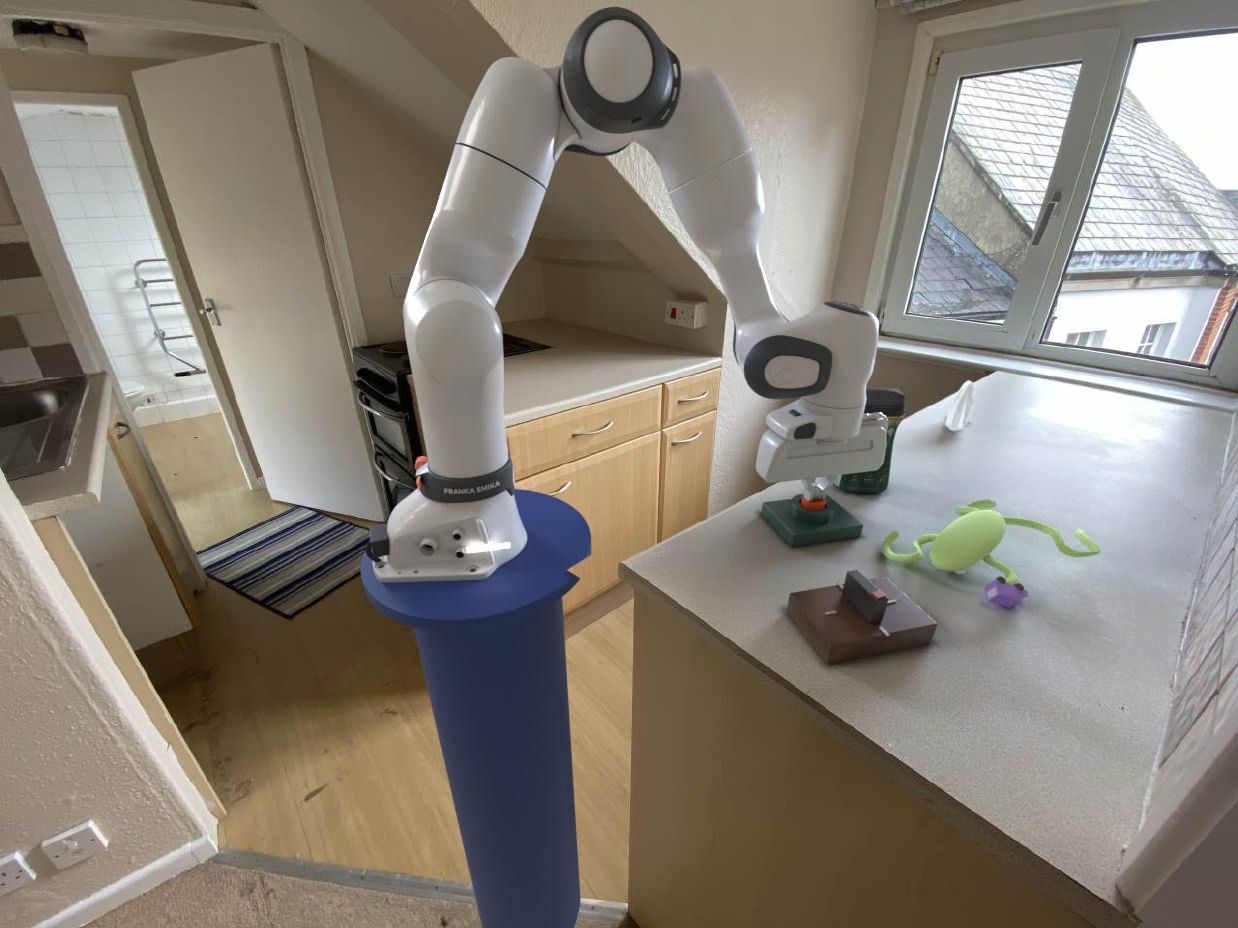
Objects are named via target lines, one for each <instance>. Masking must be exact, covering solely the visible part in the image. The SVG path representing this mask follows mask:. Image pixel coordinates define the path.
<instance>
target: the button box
mask: <svg viewBox="0 0 1238 928" xmlns="http://www.w3.org/2000/svg"><path fill="white" fill-rule="evenodd" d="M803 494H804V493H798V494H796V495H794V496H792V497H791V498H785V499H779V500H771V501H763V502H762V505H761V511H760V512H761V513H760V514H761V515H762V516H763V517H764V518H765V520H767V521H768V522H769V524H770V525H771V526H772V528H774V529H775V531H777V533H778V534H779V535H780V536H781V537H782V538H783V539H784V540H785V541H786V542H787V543H788V544H789V545H790V547H791V548H793V547H800V546H807V545H814V544H822V543H827V542H834V541H840V540H846V539H852V538H853V539H854V538H859V537H861V536H862V533H863V529H864V524H863V523H862V522H861V521H859V520H858V519H857V518H856V517H855V516H853V515H852V514H851V513H850V512H848V511H847V510H846V509H845V507H843V506H842V505H840V504H839V503H838V502H836V501H835V500H834V499H833V498H832V497H831V496H830V495H828V494H827V493H826V498H825V500H826V503H825V508H824V510H818V511H816V510H809V509H807V508H805V507H803V506H802V505H801V500H802V496H803Z"/></svg>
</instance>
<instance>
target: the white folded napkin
mask: <svg viewBox="0 0 1238 928" xmlns="http://www.w3.org/2000/svg"><path fill="white" fill-rule="evenodd" d="M975 397H976V395H975V385H974V382H973V381H971V380H966V381H965V382H964V383H963V384H962V385H961V387H960V388H959V389H958V391H957V393H956V395H955V396H954V397H953V399H952V401H951V403H950V407H949V410H948V413H947V416H946V420H945V423H944V425H945V426H946V428H948V429H949V431H951V432H954V431H955V432H956V431H962V430H965V429H966V427H967V426H968V425H967V424H968V423H969V421H970V419H971V415H972V411H973V408H974V405H975V401H976V398H975Z"/></svg>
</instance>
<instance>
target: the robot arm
mask: <svg viewBox="0 0 1238 928" xmlns="http://www.w3.org/2000/svg"><path fill="white" fill-rule="evenodd" d="M674 65H675V66H676V71H675V67H674ZM473 95H474V96H473V98H472V100H471V102H470V103H469V104H470V105H469V106H468V109H467V111H466V114H465V116H464V119H463V121H462V124H461V127H460V130H459V131H458V132H459V133H458V135H457V139H456V142H455V145H454V148H453V151H452V155H451V158H450V162H449V165H448V167H447V170H446V174H445V178H444V180H443V184H442V188H441V191H440V194H439V197H438V200H437V204H436V207H435V210H434V213H433V216H432V219H431V222H430V225H429V227H428V231H427V233H426V235H425V239H424V240H423V241H424V242H423V244H422V247H421V250H420V253H419V256H418V259H417V262H416V264H415V267H414V271H413V274H412V277H411V280H410V282H409V285H408V288H407V292H406V295H405V298H404V302H403V305H402V316H403V327H404V335H405V341H406V347H407V353H408V357H409V364H410V368H411V374H412V379H413V384H414V385H413V386H414V391H415V395H416V402H417V406H418V412H419V418H420V423H421V427H422V434H423V439H424V445H425V450H426V455H425V456H424V455H421V456H418V457H416V460H415V464H414V469H415V482H416V489H415V490H414V491H412V492H411V493H410V494H409V495H407V496H406V497H405V498H403V499H402V500H401V501H399V502H398V503H397V504H396V506H394V508H393V509H392V511H391V513H390V515H389V517H388V520H387V523H386V522H383V523H379V524H375V525H374V524H373V525H370V526H369V539H368V542H367V544H366V546H365V551H364V553H365V552H366V554H367V556H368V557H369V558H370V559H371V560H373V570H374V574H375V576H376V578H377V579H378V580H379V581H380V582H385V583H389V582H426V581H461V580H483V579H486V578H487V577H489V576H490V575H491V574H492V573H493V572H494V571H495V570H496V569H497V568H498V567H499V566H500V565H502V564H504V563H505V562H507V561H509V560H511V559H512V558H514V557H515V556H516V555H518V554H519V553H520V552H521V551H522V549H523V548H524V547H525V545H526V542H527V532H526V530H525V528H524V526H523V524H522V521H521V519H520V516H519V512H518V509H517V505H516V502H515V497H514V491H515V489H516V480H515V479H516V478H515V469H514V464H513V461H512V460H513V459H512V456H511V454H510V452H509V449H508V440H507V439H508V438H507V429H506V420H505V419H506V418H505V410H504V409H505V408H504V393H505V391H504V390H505V366H504V365H505V364H504V363H505V361H504V359H505V357H504V335H503V327H502V322H501V319H500V316H499V314H498V312H497V310H496V306H497V304H498V301H499V299H500V297H501V295H502V294H503V291H504V289H505V287H506V285H507V283H508V281H509V279H510V277H511V275H512V273H513V272H514V269H515V268H516V266H517V264H518V263H519V261H520V260H521V259H522V258H523V256H524V254H525V251H526V249H527V246H528V244H529V240H530V237H531V235H532V233H533V229H534V226H535V223H536V221H537V217H538V215H539V211H540V209H541V206H542V203H543V200H544V197H545V195H546V192H547V189H548V186H549V183H550V180H551V178H552V175H553V172H554V169H555V167H556V164H557V162H558V160H559V157H560V156H561V155H562V153H563V151H564V152H568V153H569V152H570V153H576V154H582V155H587V156H594V157H609V156H614V155H616V154H618V153H620V152H622V151H624V150H625V149H626V148H627V147H629V145H631V144H632V143H636V144H637V145H640V146H641V147H642V148H644V149H645V150H646V151H647V152H648V153H649V155H651V157H652V158H653V159H654V162H655V163H656V165H657V167H659V171H660V173H661V176H662V179H663V182H664V185H665V188H666V190H667V193H668V197H669V199H670V201H671V203H672V206H673V208H674V210H675V212H676V215H677V217H678V218H679V220H680V223H681V224H682V226H683V228H684V230H685V231H686V233H687V234H688V236H689V238H690V239H691V240H692V242H693V244H694V245H695V246H696V247H697V249H699V251H700V252H701V253H703V254H704V256H705V257H706V258H707V260H709V262H710V263H711V265H712V266H713V269H714V270H715V272H716V274H717V276H718V280H719V282H720V284H721V288H722V290H723V293H724V296H725V299H726V302H727V304H728V307H729V310H730V313H731V315H732V320H733V338H732V352H733V357H734V359H735V361H736V363H737V365H738V367H739V368H740V371H741V373H742V376H743V378H744V380H745V382H746V384H747V386H748V387H749V388H750V390H751V391H752V392H754V393H755V394H756V395H758V396H760V397H762V398H765V399H769V400H784V399H795V398H799V399H796V400H795V401H793V402H791V403H789V404H787V405H784V406H782V407H780V408H777V409H774V410H772V411H770V412H769V413H767V415H766V418H765V423H766V425H767V427H769V428H768V429H767V430H766V431H764V433H763V434H762V436H761V438H760V441H759V445H758V451H757V454H756V456H757V457H756V461H755V470H756V472H757V474H758V475H759V476H760V478H761V479H763V480H764V481H765V482H766V483H768V484H774V483H775V484H776V483H785V482H793V481H800V482H801V483H802V486H803V488H804V490H803V493H802V494H803V496H804V498H805V499H806V500H807V501H814V500H821V499H825V498H826V494H827V492H828V491H829V490H830V488H831V487H832V486H833V485H834V484H833V483H834V482H835V481H836V477H837V475H843V474H851V473H859V472H867V471H875V470H878V469H879V468H880V467H881V466H882V464H883V462H884V457H885V451H886V438H887V436H886V432H887V428H888V424H889V421H888V419H887V417H886V416H885V415H883V414H882V413H880V412H874V413H870V414H867V413H864V409H865V405H866V399H867V398H866V388H867V387H868V383H869V380H870V379H871V377H872V375H873V372H874V367H875V363H876V357H877V351H878V344H879V335H880V334H879V333H880V332H879V331H880V325H879V320H878V318H877V317H876V314H874V313H873V312H871V311H870V310H868V309H867V308H865V307H862V306H858V305H857V304H852V303H850V302H849V303H848V302H844V301H837V300H836V301H834V300H830V301H824V302H822V303H821V304H820V305H819V306H818V307H817V308H816V309H813V310H812V311H810V312H808V313H806V314H804V315H803V316H800V317H798V318H795V319H793V320H789V319H788V318H787V317H786V316H785V314H783V313H782V312H781V311H780V310H779V309H778V308H777V305H776V304H775V301H774V299H773V296H772V292H771V290H770V286H769V283H768V280H767V277H766V273H765V271H764V267H763V265H762V261H761V256H760V252H759V233H760V230H761V229H760V228H761V224H762V221H763V218H764V213H765V208H766V207H765V206H766V205H765V197H764V190H763V184H762V183H763V182H762V177H761V173H760V168H759V164H758V161H757V157H756V155H755V151H754V150H753V144H752V142H751V139H750V136H749V133H748V131H747V127H746V125H745V123H744V119H743V118H742V116H741V115H742V114H740V111H739V108H738V106H737V105H736V103H735V100H734V99H733V98H734V97H733V96H732V94H731V92H730V90H729V89H728V87H727V85H726V83H725V81H724V80H723V78H722V76H721V75H720V74H719V73H718V72H717V70H715V69H714V68H712V67H710V66H707V65H696V64H695V65H690V66H686V67H683V68H682V65H681V62H680V59H679V57H678V55H676V53H675V52H674V51H673V50H671V49H670V48H669V47H668V46H667V45H666V44H665V43H664V42H662V39H660V37H659V36H658V34H657V32H656V31H655V30H654V28H653V27H652V26H651V25H650V24H649V22H647V21H646V20H645V19H644V18H643V17H642V16H640V15H639V14H637V13H636V12H634V11H633V10H631V9H628V8H625V7H621V6H608V7H603V8H601V9H598V10H596V11H594V12H593V13H591V14H590V15H588V16H587V17H586V18H585V19H583V20H582V22H581V23H579V25H578V26H577V27H576V29H575V30H574V32H573V33H572V34H571V36H570V38H569V40H568V42H567V45H566V47H565V51H564V56H563V60H562V63H561V64H560V65H556V66H554V67H545V66H543V67H542V66H540V65H538V64H537V63H535V62H533V61H531V60H529V59H526V58H521V57H519V56H518V57H517V56H506V57H502V58H500V59H497V60H496V61H494V62H493V63H492V64H491V65H490V66H489V68H488V69H487V70H486V72H485V74H484V75H483V78H482V79H481V81H480V83H479V85H478V87H477V89H476V91H475V93H474V94H473ZM882 417H883V418H882ZM817 478H820V479H819V481H818V483H817V484H816V485H813V484H815V483H816V479H817ZM371 548H372V551H373V553H372V551H371Z"/></svg>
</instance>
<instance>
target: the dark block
mask: <svg viewBox="0 0 1238 928" xmlns="http://www.w3.org/2000/svg"><path fill="white" fill-rule="evenodd" d="M843 584H844V587H843V591H842V595H843V596H844V597H845V598H846V599H847V600H848V601H849V602H850V603H851V604H852V605H853V606H854V607H855V608H856V609H857V610H858V611H859V612H860V613H861V615H862V616H863V617H864V618H865V619H866V620H867V621H868V622H869V623H870V624H873V623H878V622H882V620H883V617H884V613H885V610H886V606H887V603H888V597H887V595H885V594H884V593H883V592H882V591H880V590H879V589H878V588H877V587H876V586H875V585H874V584H873V583H872V582H871V581H870V580H869V578H867V576H865V574H864V573H863V572H861V571H860V569H854V570H849V571H846V575H845V578H844V583H843Z"/></svg>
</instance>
